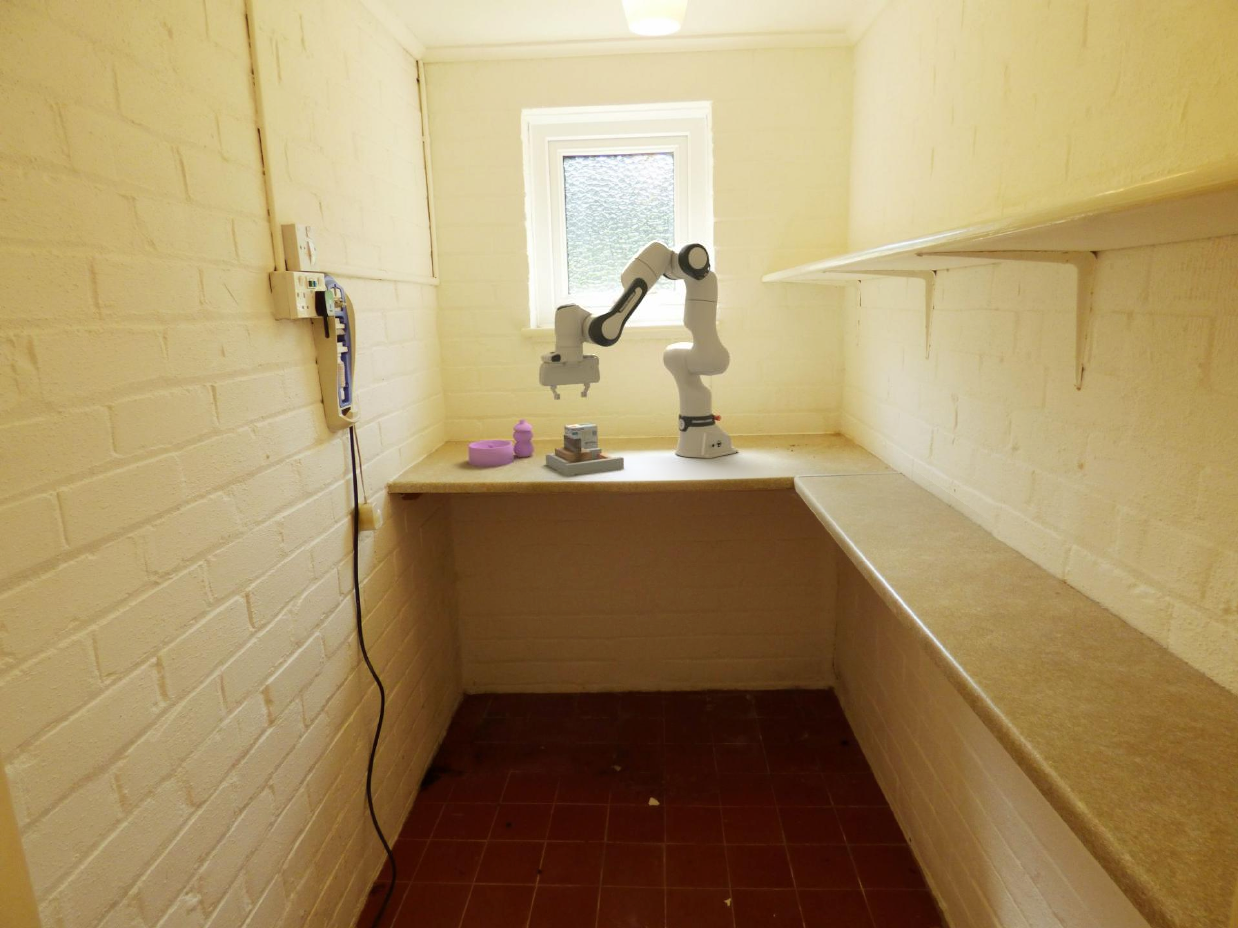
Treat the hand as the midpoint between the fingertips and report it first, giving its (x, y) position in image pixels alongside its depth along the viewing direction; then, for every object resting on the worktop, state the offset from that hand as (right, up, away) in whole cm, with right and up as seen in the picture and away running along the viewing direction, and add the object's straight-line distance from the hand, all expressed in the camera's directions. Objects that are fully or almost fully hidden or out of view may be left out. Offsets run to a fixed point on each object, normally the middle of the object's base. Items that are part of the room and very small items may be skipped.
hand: (570, 398), depth 234 cm
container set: (-25, -20, +20) cm, 38 cm away
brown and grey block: (0, -23, +5) cm, 23 cm away
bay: (+4, -22, +7) cm, 24 cm away
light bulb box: (+2, -18, +26) cm, 32 cm away
